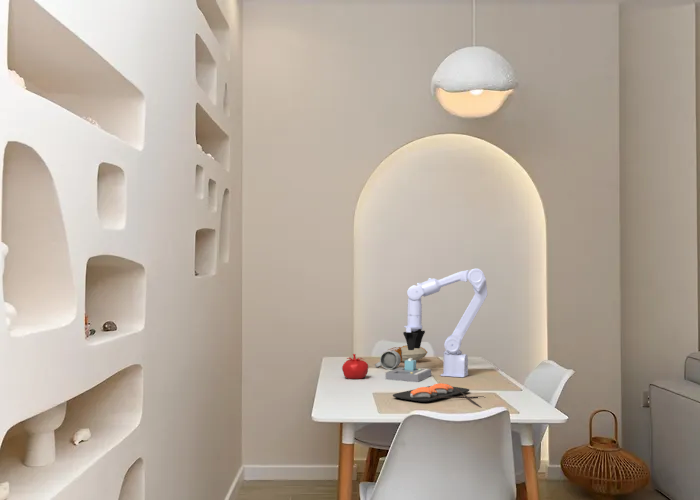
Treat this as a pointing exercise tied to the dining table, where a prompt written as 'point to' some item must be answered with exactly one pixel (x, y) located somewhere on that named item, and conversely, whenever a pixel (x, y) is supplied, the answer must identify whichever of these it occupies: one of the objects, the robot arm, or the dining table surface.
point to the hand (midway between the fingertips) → (414, 349)
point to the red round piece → (355, 368)
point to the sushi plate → (434, 393)
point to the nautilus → (410, 353)
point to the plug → (410, 364)
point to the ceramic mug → (389, 360)
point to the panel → (408, 374)
